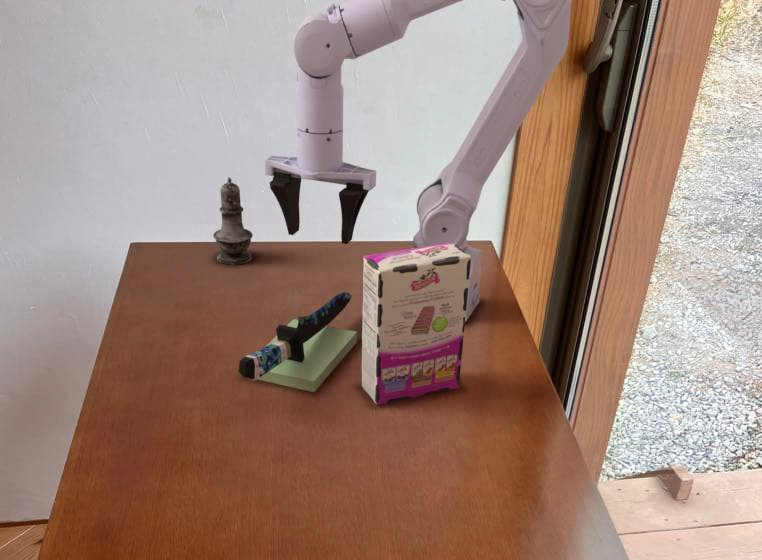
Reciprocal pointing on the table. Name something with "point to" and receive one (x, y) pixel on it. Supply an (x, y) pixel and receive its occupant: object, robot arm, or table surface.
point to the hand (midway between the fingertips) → (320, 236)
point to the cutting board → (313, 359)
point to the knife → (291, 340)
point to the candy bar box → (413, 321)
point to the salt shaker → (232, 228)
